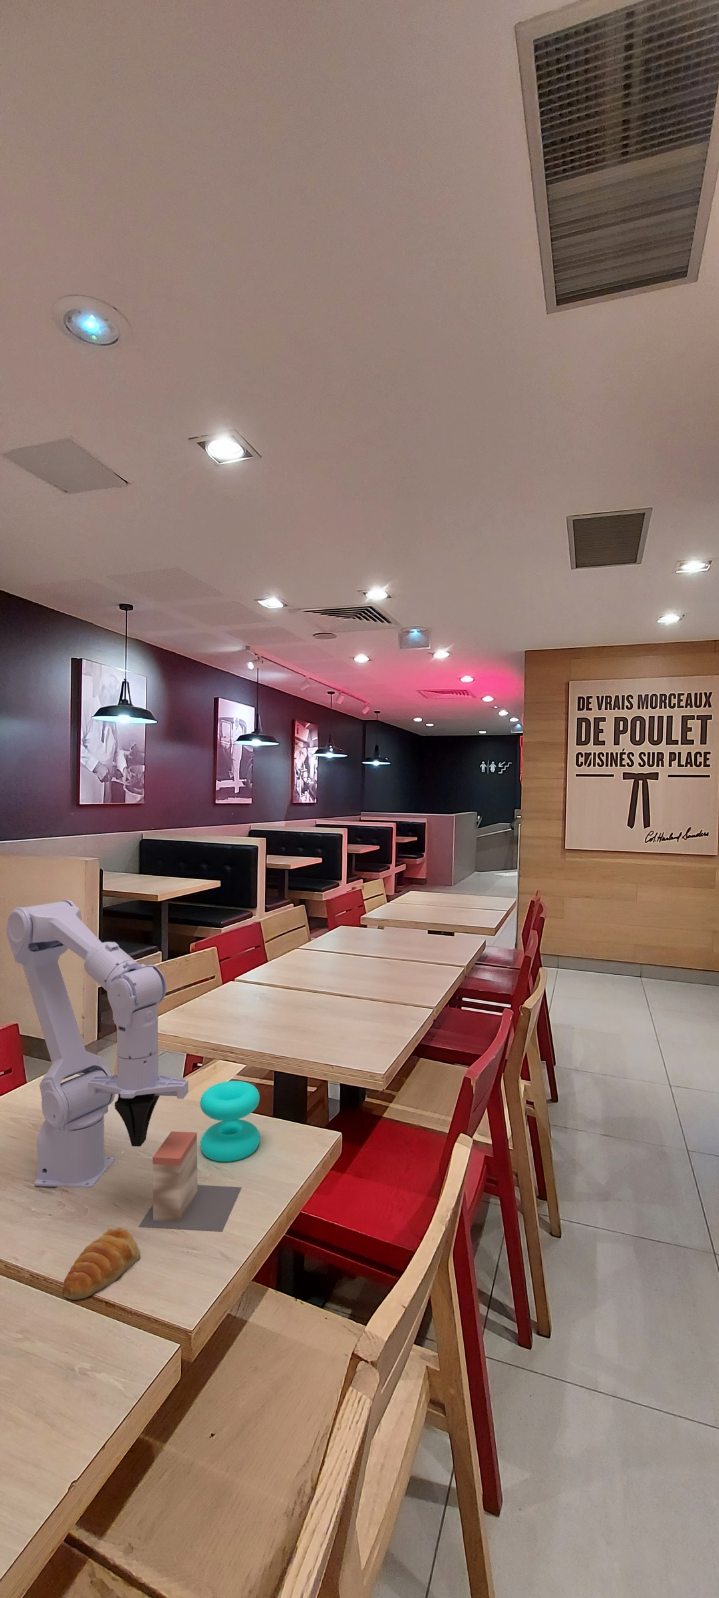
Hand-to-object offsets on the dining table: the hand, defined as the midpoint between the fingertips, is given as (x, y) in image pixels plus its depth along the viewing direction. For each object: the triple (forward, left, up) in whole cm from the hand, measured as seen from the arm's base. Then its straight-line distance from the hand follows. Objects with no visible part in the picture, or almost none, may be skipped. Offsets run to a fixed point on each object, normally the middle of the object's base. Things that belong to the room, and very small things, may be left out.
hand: (138, 1143), depth 96 cm
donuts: (+9, +16, -10) cm, 21 cm away
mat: (+8, 0, -9) cm, 12 cm away
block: (+6, 0, -9) cm, 11 cm away
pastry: (+1, -13, -10) cm, 16 cm away
